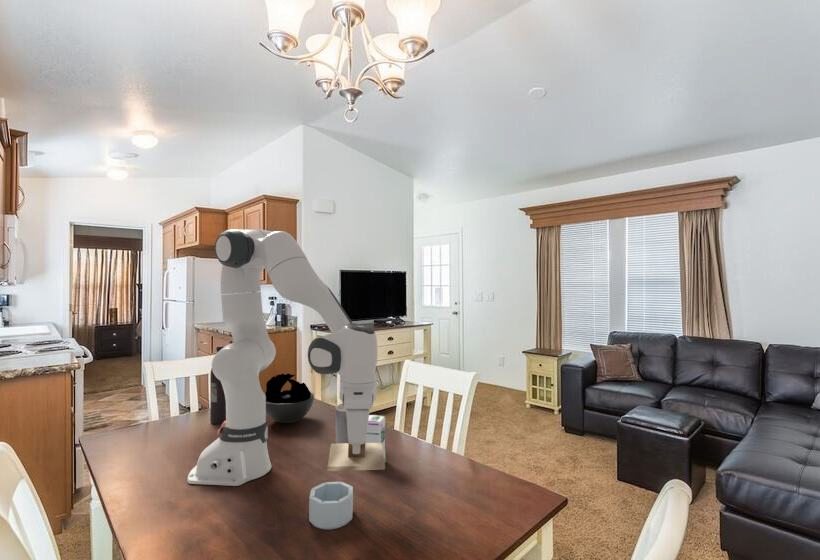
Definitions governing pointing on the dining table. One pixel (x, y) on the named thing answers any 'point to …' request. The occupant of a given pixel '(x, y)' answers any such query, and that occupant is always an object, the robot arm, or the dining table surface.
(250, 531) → the dining table surface
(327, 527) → the bowl
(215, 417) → the wine bottle
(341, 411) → the pillar candle
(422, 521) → the dining table surface
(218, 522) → the dining table surface
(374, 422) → the syrup box
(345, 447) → the lid
